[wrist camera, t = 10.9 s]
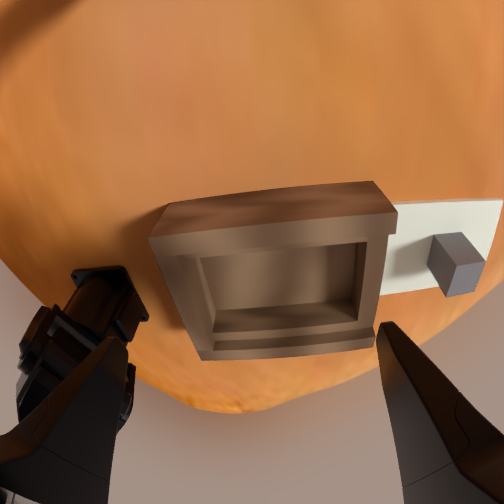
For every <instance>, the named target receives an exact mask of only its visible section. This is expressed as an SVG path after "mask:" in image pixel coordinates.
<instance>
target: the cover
mask: <svg viewBox="0 0 504 504" xmlns="http://www.w3.org/2000/svg"><path fill="white" fill-rule="evenodd" d="M391 204H392V205H393V206H394V207H395V209H396V210H397V211H398V220H397V228H396V234H392V235H389V237H388V245H387V252H386V259H385V266H384V272H383V278H382V284H381V290H380V295H386V294H393V293H400V292H407V291H413V290H419V289H426V288H432V287H437V286H440V288H441V290H442V292H443V293H444V295H445V297H451V296H456V295H461V294H465V293H470V292H474V291H475V288H476V286H477V284H478V281H479V278H480V276H481V273H482V271H483V268H484V265H485V262H486V259H487V256H488V253H489V250H490V247H491V244H492V241H493V238H494V234H495V231H496V227H497V224H498V220H499V216H500V212H501V208H502V204H503V200H502V199H501V198H469V199H440V200H418V201H399V202H391Z"/></svg>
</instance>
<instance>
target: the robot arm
mask: <svg viewBox="0 0 504 504" xmlns="http://www.w3.org/2000/svg"><path fill="white" fill-rule="evenodd" d="M121 272H122V273H121ZM71 278H72V279H73V281H74V283H75V284H76V286H77V289H76V290H75V292H74V294H73V295H72V297H71V298H70V300H69V301H68V303H67V305H66V306H65V308H64V310H63V311H62V310H61V309H60V307H59V306H58V305H57V304H54V305H53V307H52V308H51V309H50V308H49V307H45V306H41V308H40V309H39V310H38V312H37V313H36V315H35V316H34V318H33V320H32V321H31V323H30V325H29V327H28V328H27V330H26V332H25V334H24V336H23V337H22V340H21V342H20V343H19V347H20V352H21V354H20V357H19V358H20V361H19V364H18V367H17V368H18V369H19V370H21V371H22V374H21V376H20V378H19V380H18V382H17V384H16V402H17V412H18V421H19V424H18V425H17V426H16V427H14V428H13V429H12V430H11V431H10V432H8V433H6V434H4V435H0V504H108V495H109V485H110V475H111V468H112V460H113V453H114V446H115V440H116V435H117V433H118V432H119V430H120V429H121V428H122V427H123V426H124V424H125V422H126V421H127V419H128V418H129V416H130V413H131V411H132V407H133V399H134V384H135V372H136V366H134V365H133V364H132V363H128V351H127V349H126V346H127V344H128V342H131V341H132V340H133V337H134V335H135V332H136V330H137V327H138V325H139V322H146V321H148V319H149V314H148V312H147V310H146V309H145V307H144V305H143V303H142V301H141V299H140V297H139V295H138V293H137V291H136V289H135V287H134V285H133V283H132V281H131V279H130V277H129V275H128V273H127V271H126V269H125V268H124V267H122V266H115V267H104V268H94V269H83V270H74V271H73V272H72V273H71ZM376 346H377V352H378V359H379V366H380V373H381V380H382V386H383V391H384V395H385V399H386V403H387V408H388V412H389V417H390V421H391V426H392V431H393V435H394V441H395V446H396V451H397V457H398V463H399V469H400V475H401V481H402V487H403V496H404V504H504V435H503V434H502V433H501V432H500V431H499V430H498V429H497V428H496V427H495V426H493V425H492V424H491V423H490V422H489V421H488V420H487V419H486V418H485V417H484V416H483V415H481V413H480V412H478V411H477V410H476V409H475V408H474V407H473V405H472V404H471V403H470V402H469V401H468V400H467V399H466V398H465V397H464V396H463V395H462V393H461V392H459V390H458V389H457V388H456V387H455V386H454V385H453V384H452V382H451V381H450V380H449V379H448V378H447V377H446V376H445V375H444V374H443V373H442V372H441V370H440V369H438V367H437V366H436V365H435V364H434V363H433V362H432V361H431V360H430V359H429V358H428V357H427V356H426V355H425V353H424V352H423V351H422V350H421V349H420V348H419V347H418V346H417V345H416V344H415V343H414V342H413V341H412V340H411V339H410V338H409V337H408V336H407V335H406V334H405V333H404V332H403V331H402V330H401V329H400V328H399V327H398V326H397V325H396V324H395V323H394V322H393V321H388V322H382V323H381V324H380V326H379V330H378V334H377V338H376Z"/></svg>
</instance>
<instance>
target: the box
mask: <svg viewBox="0 0 504 504" xmlns="http://www.w3.org/2000/svg"><path fill="white" fill-rule="evenodd" d="M397 220H398V211H397V210H396V209H395V207H394V206H393V205H392V204H391V202H390V201H389V200H388V199H387V197H386V196H385V195H384V194H383V192H382V191H381V190H380V189H379V188H378V186H377V185H376V184H375V183H374V182H373V181H366V182H350V183H336V184H323V185H311V186H300V187H290V188H280V189H270V190H261V191H253V192H245V193H237V194H229V195H221V196H214V197H207V198H200V199H194V200H187V201H181V202H174V203H169V205H168V206H167V208H166V209H165V211H164V212H163V214H162V215H161V217H160V219H159V220H158V222H157V223H156V225H155V226H154V228H153V230H152V231H151V233H150V235H149V236H148V241H149V243H150V246H151V249H152V251H153V254H154V256H155V259H156V261H157V264H158V266H159V269H160V271H161V274H162V276H163V278H164V281H165V283H166V285H167V288H168V290H169V292H170V295H171V297H172V299H173V302H174V304H175V306H176V308H177V310H178V313H179V315H180V317H181V319H182V321H183V324H184V326H185V328H186V330H187V332H188V334H189V336H190V338H191V340H192V342H193V344H194V347H195V349H196V351H197V353H198V355H199V357H200V359H201V361H209V360H251V359H270V358H285V357H297V356H308V355H318V354H327V353H335V352H343V351H351V350H358V349H364V348H371V347H373V345H374V341H375V337H376V336H375V333H374V329H373V324H374V319H375V315H376V310H377V305H378V300H379V295H380V290H381V284H382V278H383V272H384V266H385V259H386V252H387V245H388V237H389V235H392V234H396V228H397Z"/></svg>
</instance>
